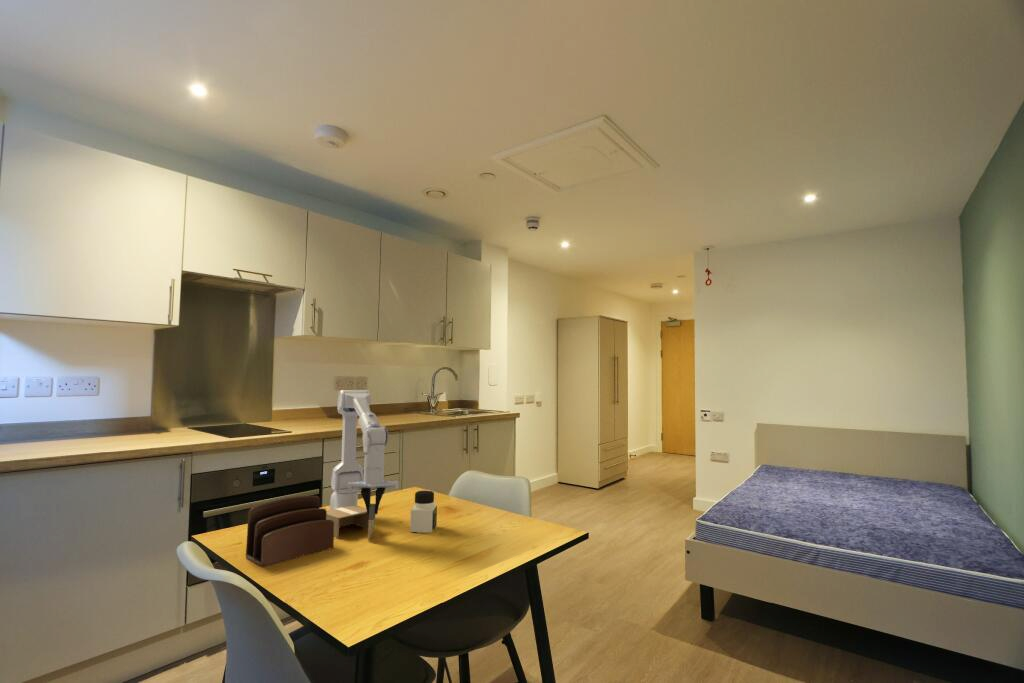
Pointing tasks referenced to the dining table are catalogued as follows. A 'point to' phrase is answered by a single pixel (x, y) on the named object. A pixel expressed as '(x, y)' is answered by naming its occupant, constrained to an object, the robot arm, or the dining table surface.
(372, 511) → the side flap
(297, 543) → the letter holder
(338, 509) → the carton
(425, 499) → the medicine bottle
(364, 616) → the dining table surface
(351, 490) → the robot arm
